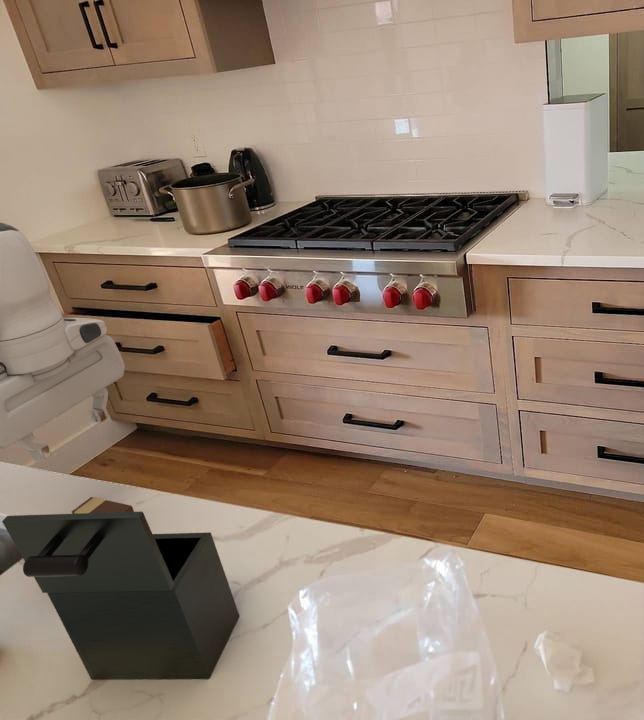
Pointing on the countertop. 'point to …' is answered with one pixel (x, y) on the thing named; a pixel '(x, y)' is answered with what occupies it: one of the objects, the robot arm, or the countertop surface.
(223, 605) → the bin
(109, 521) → the bin lid
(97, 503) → the chocolate
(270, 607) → the countertop surface
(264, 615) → the countertop surface
